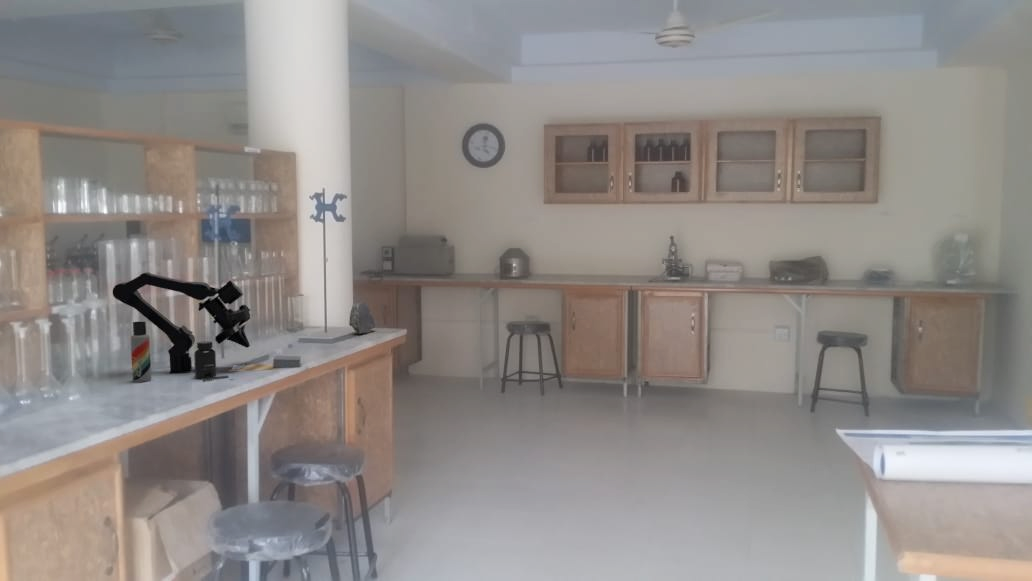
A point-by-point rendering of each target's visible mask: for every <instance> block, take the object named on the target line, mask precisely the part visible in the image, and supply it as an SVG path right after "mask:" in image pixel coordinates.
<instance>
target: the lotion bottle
mask: <svg viewBox="0 0 1032 581" xmlns="http://www.w3.org/2000/svg"><path fill="white" fill-rule="evenodd" d="M146 325H147V324H146V321H132V334H133V335H130V354H131V373H132V374H131V375H132V377H131V378H132V381H133V382H134V383H143V382H149V381H151V380H152V368H151V367H152V365H151V364H152V363H151V346H150V344H151V342H150V335H149V334H147V328H146V327H147V326H146Z"/></svg>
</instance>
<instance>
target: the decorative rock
mask: <svg viewBox="0 0 1032 581" xmlns="http://www.w3.org/2000/svg"><path fill="white" fill-rule="evenodd" d="M348 325H349V326H350V327H351V328H353V330H354V331H355V333H356V334H367V333H371V331H372V330H373V329H375V328H376V324H375V322H374V316H373V315H372V313H371V309H370V308H369V306H368V305H367V304H366V302H365V301H363V300H358V301H356V302H354V303H353V304H352V305H351V310H350V312H349V320H348Z"/></svg>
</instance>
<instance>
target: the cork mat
mask: <svg viewBox="0 0 1032 581" xmlns="http://www.w3.org/2000/svg"><path fill="white" fill-rule="evenodd" d="M250 364H251V365H247V366H245V367H243V368H240V369H235V370H231V369H229V372H230V373H231V372H247V371H248V372H249V371H250V372H252V371H253V372H254V371H274V370H275V371H276V370H278V368H273V363H250Z"/></svg>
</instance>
